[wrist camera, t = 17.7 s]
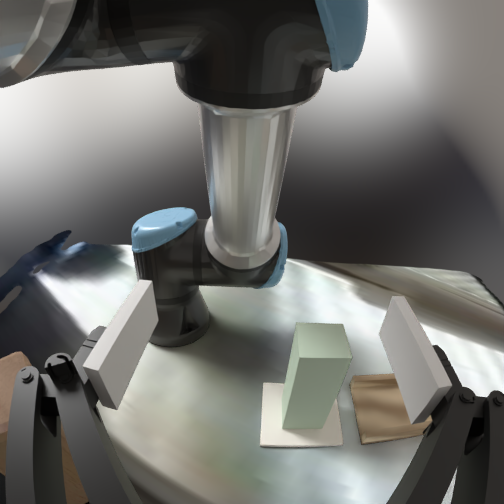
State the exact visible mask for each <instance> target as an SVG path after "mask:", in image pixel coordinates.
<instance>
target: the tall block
mask: <svg viewBox="0 0 504 504" xmlns="http://www.w3.org/2000/svg"><path fill="white" fill-rule="evenodd" d="M351 360H352V354H351V351H350V347H349V343H348V340H347V336H346V333H345V329H344V326H343V324H323V323H297V322H296V327H295V332H294V338H293V343H292V349H291V354H290V359H289V365H288V370H287V375H286V380H285V384H284V389H283V394H282V429H322V428H323V426H324V423H325V421H326V419H327V417H328V415H329V413H330V411H331V408H332V406H333V404H334V402H335V399H336V397H337V395H338V392H339V390H340V388H341V385H342V383H343V380H344V378H345V375H346V373H347V370H348V368H349V365H350V363H351Z"/></svg>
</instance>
